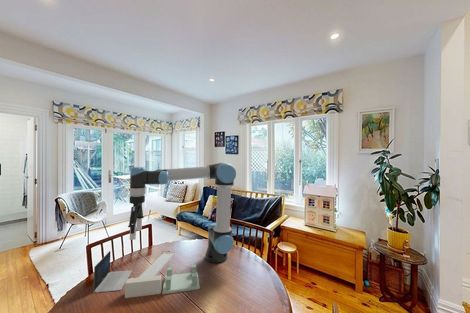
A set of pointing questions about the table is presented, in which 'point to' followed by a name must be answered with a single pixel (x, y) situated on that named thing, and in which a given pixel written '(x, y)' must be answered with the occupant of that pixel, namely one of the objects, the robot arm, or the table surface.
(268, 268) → the table surface
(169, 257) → the baseboard
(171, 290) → the rack
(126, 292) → the white rectangular block
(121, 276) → the laptop
